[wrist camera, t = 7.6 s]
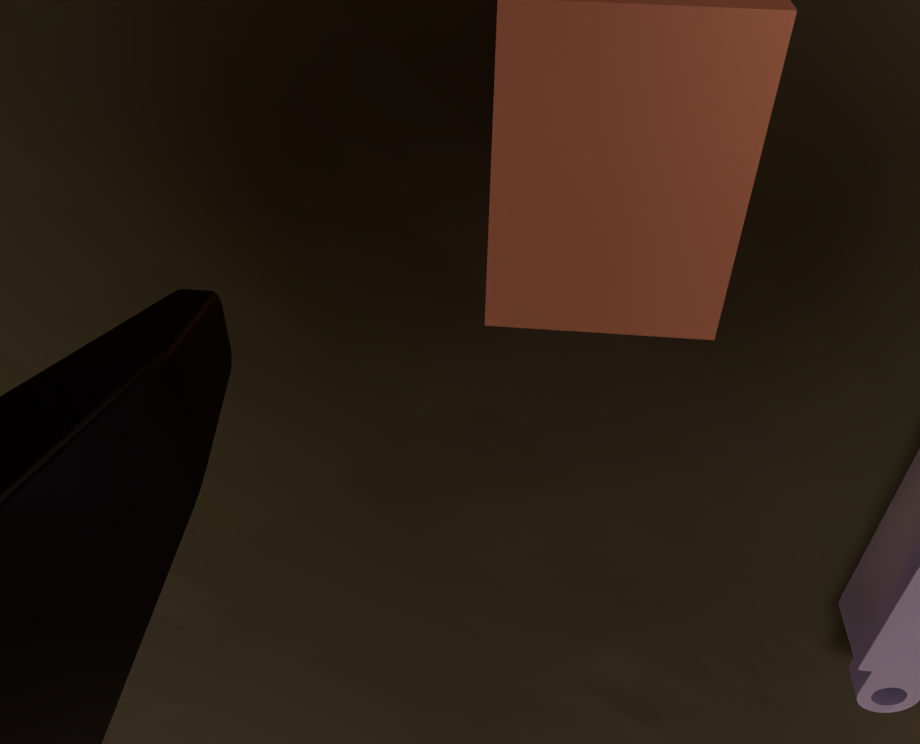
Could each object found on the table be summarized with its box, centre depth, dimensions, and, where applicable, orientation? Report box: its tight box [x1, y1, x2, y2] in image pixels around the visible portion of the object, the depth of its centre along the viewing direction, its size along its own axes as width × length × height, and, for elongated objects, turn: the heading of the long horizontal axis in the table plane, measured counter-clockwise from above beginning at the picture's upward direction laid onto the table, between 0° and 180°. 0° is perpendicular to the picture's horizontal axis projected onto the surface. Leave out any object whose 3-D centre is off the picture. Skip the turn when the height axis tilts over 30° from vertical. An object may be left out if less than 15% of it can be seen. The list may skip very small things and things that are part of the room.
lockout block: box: [485, 0, 797, 340], centre depth 15 cm, size 4×5×6 cm
